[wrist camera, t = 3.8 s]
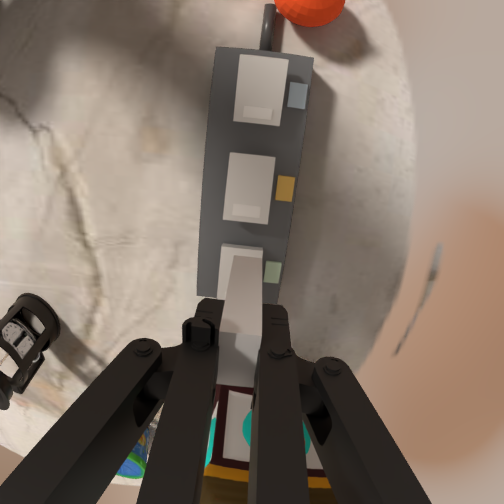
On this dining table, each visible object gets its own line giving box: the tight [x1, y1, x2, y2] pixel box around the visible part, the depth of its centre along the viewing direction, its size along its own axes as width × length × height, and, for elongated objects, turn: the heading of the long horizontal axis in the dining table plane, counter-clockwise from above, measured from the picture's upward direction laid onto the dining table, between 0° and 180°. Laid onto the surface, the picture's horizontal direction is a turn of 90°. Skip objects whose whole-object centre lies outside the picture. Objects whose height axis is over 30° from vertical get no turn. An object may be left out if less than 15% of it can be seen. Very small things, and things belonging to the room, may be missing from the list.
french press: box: [0, 293, 60, 410], centre depth 33 cm, size 12×9×23 cm
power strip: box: [197, 4, 314, 304], centre depth 31 cm, size 32×9×4 cm, turn 174°
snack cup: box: [116, 428, 149, 479], centre depth 49 cm, size 16×10×10 cm
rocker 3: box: [217, 243, 263, 300], centre depth 33 cm, size 6×4×2 cm, turn 174°
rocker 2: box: [223, 152, 276, 224], centre depth 29 cm, size 6×4×2 cm, turn 174°
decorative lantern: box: [200, 384, 338, 504], centre depth 34 cm, size 20×20×30 cm
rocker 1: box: [233, 54, 289, 126], centre depth 25 cm, size 6×4×2 cm, turn 173°
